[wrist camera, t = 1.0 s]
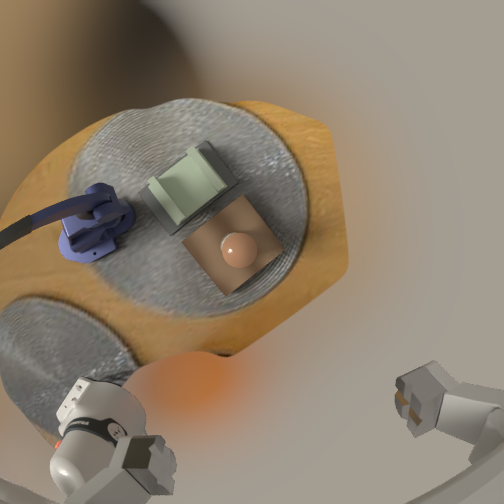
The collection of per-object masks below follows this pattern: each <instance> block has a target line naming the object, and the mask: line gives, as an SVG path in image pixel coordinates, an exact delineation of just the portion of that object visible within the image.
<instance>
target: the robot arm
mask: <svg viewBox="0 0 504 504" xmlns="http://www.w3.org/2000/svg"><path fill="white" fill-rule="evenodd" d="M80 386H81V387H80ZM395 386H396V387H397V389H398V391H397V392H396V394H395V405H396V409H397V411H398V413H399V415H400V416H401V418H404V419H406V420H408V421H407V427H408V428H409V430H410V431H411V433H412V434H413V436H414V437H415V438H416V437H418V436H420V435H422V434H424V433H426V432H428V431H430V430H432V429H434V428H436V429H437V430H439V431H442V432H444V433H446V434H449V435H452V436H454V437H456V438H458V439H461V440H463V441H466V442H468V443H471V444H474V445H475V446H474V448H473V450H472V452H471V454H470V456H469V461H470V463H471V464H472V465H471V466H470V467H468V468H467V469H466V470H464V471H462V472H461V473H459V474H458V475H456V476H454V477H453V478H451V479H449V480H448V481H446V482H444V483H443V484H441V485H439V486H438V487H436V488H434V489H432V490H431V491H429V492H427V493H425V494H423V495H421V496H419V497H417V498H415V499H413V500H411V501H409V502H407V503H405V504H504V390H500V389H494V388H489V387H484V386H479V385H474V384H469V383H464V382H462V383H461V384H459V383H458V382H457V381H456V380H455V379H454V378H453V377H452V376H451V375H450V374H449V373H448V372H447V371H446V370H445V369H444V368H443V367H442V366H441V365H440V364H438V363H437V362H436V361H431V362H429V363H427V364H425V365H423V366H421V367H419V368H417V369H415V370H412V371H410V372H408V373H406V374H404V375H402V376H399V377H398V378H397V379H396V385H395ZM56 415H57V417H58V419H59V421H60V423H61V425H60V426H59V432H60V434H61V435H62V437H63V438H62V441H59V442H58V443H57V444H56V446H55V448H56V449H57V451H56V453H55V454H54V456H53V458H52V459H51V462H50V472H51V475H52V478H53V480H54V481H55V483H56V485H57V486H58V487H59V488H60V490H61V491H62V492H63V493H64V494H65V495H66V496H67V498H66V499H65V502H64V504H146V502H147V501H148V500H149V499H150V497H151V495H173V489H174V482H175V481H174V480H173V478H172V477H171V476H172V475H173V474H174V473H175V472H176V466H177V464H176V458H175V455H174V453H173V452H172V450H171V449H170V448H168V447H166V446H165V440H164V439H163V438H162V436H159V435H154V436H153V435H152V436H147V434H146V431H145V424H146V414H145V411H144V409H143V407H142V405H141V404H140V402H139V401H138V400H137V399H136V398H135V397H134V396H133V395H132V394H131V393H130V392H128V391H127V390H125V389H123V388H122V387H120V386H117V385H115V384H112V383H107V382H95V381H92V380H90V379H87V378H85V377H80V378H79V379H78V380H77V382H76V383H75V385H74V386H73V388H72V389H71V391H70V392H69V394H68V395H67V397H66V398H65V400H64V401H63V403H62V405H61V406H60V408H59V409H58V411H57V413H56ZM0 504H59V503H56V502H54V501H52V500H50V499H47V498H46V497H43V496H41V495H39V494H37V493H35V492H33V491H32V490H30V489H28V488H26V487H23V486H21V485H19V484H16V483H13V482H11V481H8V480H5V479H3V478H0Z"/></svg>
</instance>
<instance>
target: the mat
mask: <svg viewBox="0 0 504 504" xmlns="http://www.w3.org/2000/svg"><path fill="white" fill-rule="evenodd" d="M197 148H198V150H199V151H200V152H201V153H202V155H203V156H204V157H205V158H206V160H207V161H208V162H209V163H210V165H211V166H212V167H213V169H214V170H215V171H216V172H217V174H218V175H219V176H220V177H221V179H222V180H223V181H224V182H225V184H226V185H227V187H226V188H225V189H224V190H222V191H221V192H220V193H218V194H217V195H216V196H215V197H213V198H212V199H211V200H209V201H208V202H207V203H206V204H204V205H203V206H202V207H200V208H199V209H198V210H197V211H195V212H194V213H193V214H192V215H190V216H189V217H188V218H187V219H185V220H184V221H183V222H182V223H180V224H179V225H177V224H176V223H175V222H174V220H173V219H172V218H171V217H170V215H169V214H168V213H167V211H166V210H165V209H164V207H163V206H162V205H161V204H160V202H159V201H158V200H157V198H156V197H155V196H154V194H153V193H152V192H151V190H150V189H149V188H148V186H149V185H150V184H148V185H147V186H145V187H144V188H143V189H142V190H141V191H139V192H138V194H139V195H140V196H141V198H142V199H143V200H144V202H145V203H146V204H147V206H148V207H149V208H150V210H151V211H152V212H153V214H154V215H155V216H156V218H157V219H158V220H159V222H160V223H161V224H162V225H163V227H164V228H165V229H166V231H167V232H168V233H169V235H170V236H171V235H172V234H173V233H174V232H176V231H177V230H178V229H179V228H181V227H182V226H183V225H184V224H186V223H187V222H188V221H189V220H191V219H192V218H193V217H194V216H196V215H197V214H198V213H199V212H201V211H202V210H203V209H204V208H206V207H207V206H208V205H210V204H211V203H212V202H213V201H215V200H216V199H217V198H219V197H220V196H221V195H222V194H224V193H225V192H226V191H228V190H229V189H230V188H232V187H233V186H234V185H236V184H237V183H238V181H237V179H236V178H235V177H234V175H233V174H232V173H231V172H230V170H229V169H228V168H227V167H226V165H225V164H224V163H223V162H222V160H221V159H220V158H219V157H218V155H217V154H216V153H215V152H214V150H213V149H212V148H211V147H210V145H209V144H208V143H207V142H206V140H205V141H204V142H203V143H201V144H200V145H198V146H197V147H196V148H195V149H197ZM187 155H188V154H186V155H185V156H183V157H182V158H181V159H179V160H178V161H177V162H176V163H174V164H173V165H172V166H170V167H169V168H168V169H167V170H165V171H164V172H163V173H161V174H160V175H159V176H158V177H156V179H158V178H159V177H160V176H161V175H163V174H164V173H165V172H166V171H168V170H169V169H170V168H171V167H173V166H174V165H175V164H177V163H178V162H179V161H181V160H182V159H183V158H185V157H186V156H187Z"/></svg>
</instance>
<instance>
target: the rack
mask: <svg viewBox="0 0 504 504" xmlns="http://www.w3.org/2000/svg"><path fill="white" fill-rule="evenodd" d="M186 151H187V154H188V155H187V156H186V157H185V158H183V159H182V160H181V161H179V162H178V163H177V164H175V165H174V166H173V167H171V168H170V169H169V170H168V171H166V172H165V173H164V174H163V175H161V176H160V177H159V178H158V179H156V178H155V177H154V176H153V177H151V178H150V179H149V180H148V183H149V184H150V185H149V186H148V188H149V189H150V190H151V192H152V193H153V194H154V196H155V197H156V198H157V200H158V201H159V202H160V204H161V205H162V206H163V207H164V209H165V210H166V211H167V213H168V214H169V215H170V217H171V218H172V219H173V220H174V222H175V223H176V224H177V225H179V224H180V223H182V222H183V221H184V220H185V219H187V218H188V217H189V216H190V215H192V214H193V213H194V212H195V211H197V210H198V209H199V208H200V207H202V206H203V205H204V204H206V203H207V202H208V201H209V200H211V199H212V198H213V197H215V196H216V195H217V194H218V193H220V192H221V191H222V190H224V189H225V188H226V187H227V185H226V184H225V182H224V181H223V180H222V179H221V177H220V176H219V175H218V174H217V172H216V171H215V170H214V169H213V167H212V166H211V165H210V163H209V162H208V161H207V160H206V158H205V157H204V156H203V155H202V153H201V152H200V151H199V150H198V148H197V149H195V148H194V147H193V146H192V147H190V148H189V149H187V150H186Z"/></svg>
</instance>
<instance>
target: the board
mask: <svg viewBox="0 0 504 504" xmlns="http://www.w3.org/2000/svg"><path fill="white" fill-rule="evenodd" d="M231 232H237V233H245V234H248V235H249V236H251V237H252V238H253V239H254V241H255V242H256V245H257V256H256V258H255V260H254V261H253V263H252V264H250V265H249V266H247V267H244V268H235V267H232V266H230V265H229V264H228V263H227V262H226V261H225V259H224V257H223V255H222V251H221V247H220V245H221V241H222V239H223V237H224V236H225V235H227V234H228V233H231ZM182 243H183V245H184V246H185V247H186V249H187V250H188V251H189V252H190V254H191V255H192V256H193V257H194V259H195V260H196V261H197V262H198V264H199V265H200V266H201V267H202V268H203V270H204V271H205V272H206V273H207V275H208V276H209V277H210V278H211V280H212V281H213V282H214V283H215V284H216V286H217V287H218V288H219V289H220V290H221V292H222V293H223V294H224V295H225V296H228V295H229V294H230V293H231V292H233V291H234V290H235V289H236V288H238V287H239V286H240V285H242V284H243V283H244V282H245V281H247V280H248V279H249V278H250V277H252V276H253V275H254V274H255V273H257V272H258V271H259V270H260V269H262V268H263V267H264V266H265V265H267V264H268V263H269V262H270V261H272V260H273V259H274V258H275V257H277V256H278V255H279V254H280V253H281V252H283V251H284V250H285V249H284V247H283V246H282V245H281V243H280V242H279V241H278V239H277V238H276V237H275V235H274V234H273V233H272V231H271V230H270V229H269V227H268V226H267V225H266V223H265V222H264V221H263V220H262V218H261V217H260V216H259V214H258V213H257V212H256V210H255V209H254V208H253V207H252V205H251V204H250V203H249V201H248V200H247V199H246V197H245V196H244V195H243V194H242V195H241V196H239V197H238V198H237V199H235V200H234V201H233V202H232V203H230V204H229V205H228V206H226V207H225V208H224V209H223V210H221V211H220V212H219V213H217V214H216V215H215V216H214V217H212V218H211V219H210V220H208V221H207V222H206V223H205V224H203V225H202V226H201V227H200V228H198V229H197V230H196V231H195V232H193V233H192V234H191V235H190V236H188V237H187V238H186V239H185V240H184V241H182Z"/></svg>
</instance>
